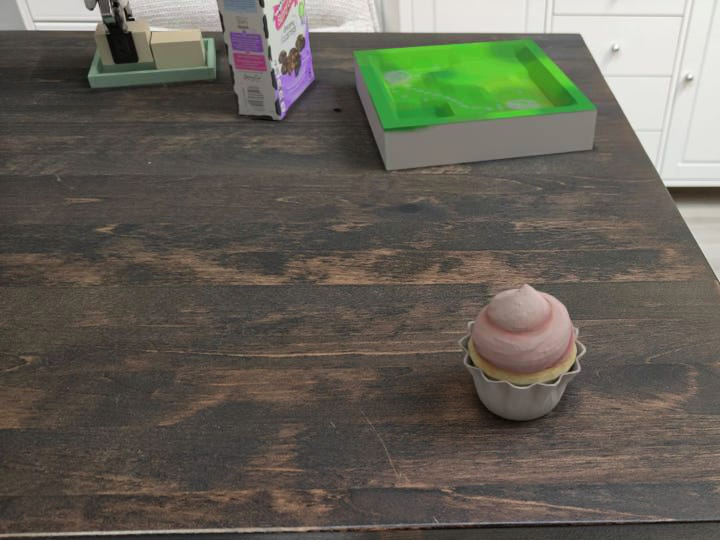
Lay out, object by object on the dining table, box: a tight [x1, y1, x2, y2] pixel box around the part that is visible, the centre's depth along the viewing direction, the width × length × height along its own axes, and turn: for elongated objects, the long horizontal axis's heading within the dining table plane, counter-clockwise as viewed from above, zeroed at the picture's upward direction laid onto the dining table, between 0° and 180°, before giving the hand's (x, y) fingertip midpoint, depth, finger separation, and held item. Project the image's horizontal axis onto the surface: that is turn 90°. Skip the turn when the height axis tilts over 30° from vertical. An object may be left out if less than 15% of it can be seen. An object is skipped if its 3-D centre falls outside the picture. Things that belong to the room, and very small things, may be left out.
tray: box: [352, 38, 598, 171], centre depth 94 cm, size 25×25×5 cm
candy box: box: [216, 0, 316, 121], centre depth 94 cm, size 14×6×16 cm, turn 171°
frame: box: [87, 37, 217, 89], centre depth 105 cm, size 16×13×2 cm
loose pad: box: [93, 19, 154, 65], centre depth 103 cm, size 6×5×4 cm
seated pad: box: [150, 28, 206, 70], centre depth 105 cm, size 6×5×4 cm
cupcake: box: [457, 283, 587, 421], centre depth 54 cm, size 9×9×10 cm
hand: (128, 54), depth 104 cm, fingers closed on loose pad, 5 cm apart
